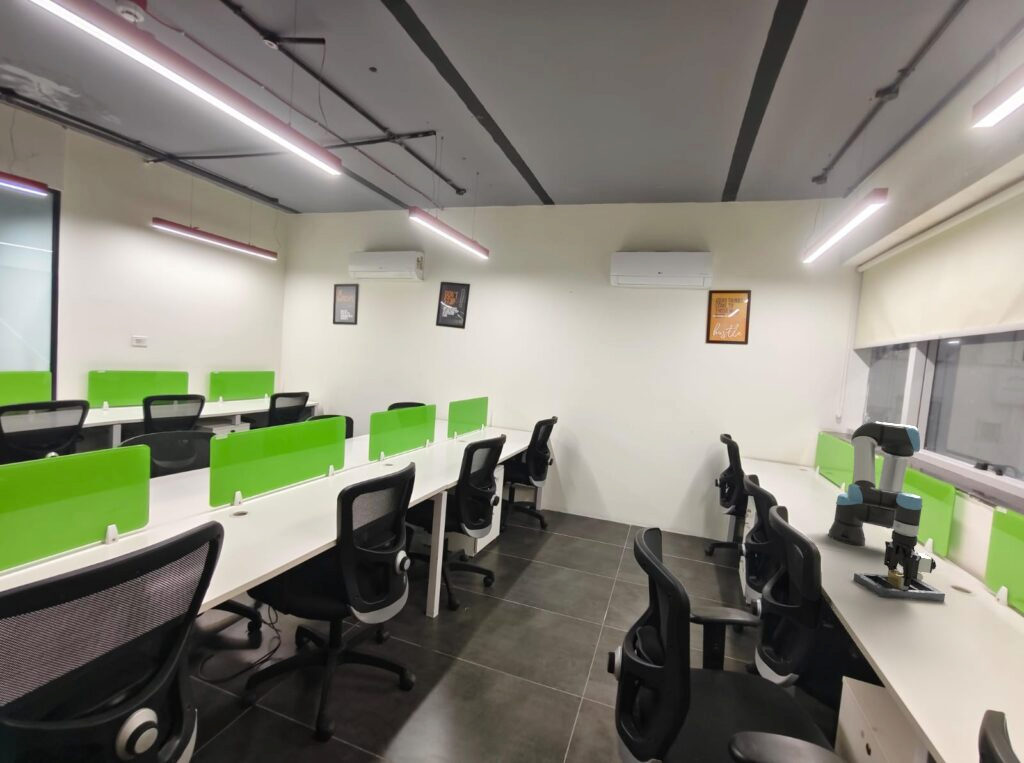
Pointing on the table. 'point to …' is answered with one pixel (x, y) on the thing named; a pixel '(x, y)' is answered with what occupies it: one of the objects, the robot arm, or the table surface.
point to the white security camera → (923, 565)
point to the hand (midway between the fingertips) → (897, 589)
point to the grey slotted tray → (915, 590)
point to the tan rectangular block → (895, 577)
